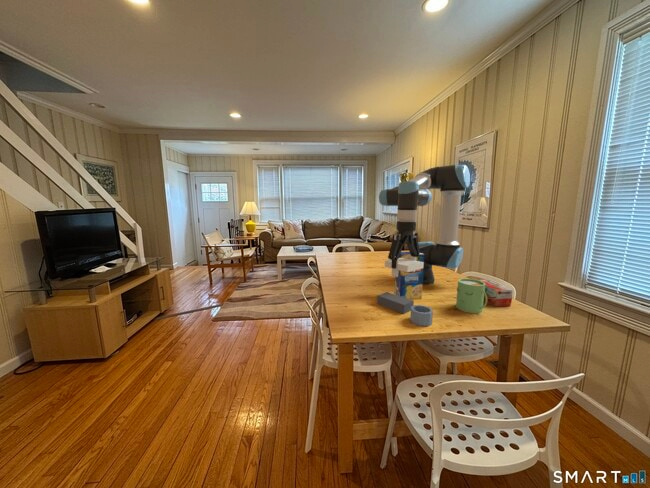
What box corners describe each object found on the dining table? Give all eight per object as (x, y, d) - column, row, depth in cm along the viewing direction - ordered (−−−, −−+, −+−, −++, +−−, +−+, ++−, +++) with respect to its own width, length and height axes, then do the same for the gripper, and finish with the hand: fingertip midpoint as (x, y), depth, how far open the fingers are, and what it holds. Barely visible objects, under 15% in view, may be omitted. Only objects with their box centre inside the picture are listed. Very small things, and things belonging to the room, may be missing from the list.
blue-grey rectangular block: (386, 300, 120) (386, 292, 120) (413, 309, 110) (413, 300, 109) (377, 303, 116) (377, 295, 115) (403, 314, 105) (404, 304, 105)
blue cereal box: (421, 298, 122) (424, 254, 118) (399, 299, 121) (401, 254, 117) (415, 293, 128) (417, 251, 125) (394, 294, 127) (396, 251, 124)
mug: (450, 306, 113) (452, 280, 111) (466, 302, 117) (468, 277, 116) (476, 317, 102) (479, 289, 100) (493, 313, 106) (496, 285, 104)
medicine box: (511, 306, 113) (513, 289, 112) (495, 307, 112) (497, 290, 111) (485, 294, 128) (487, 279, 127) (471, 295, 127) (472, 280, 126)
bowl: (417, 314, 104) (417, 303, 104) (436, 321, 98) (436, 309, 98) (406, 320, 99) (406, 308, 99) (425, 328, 93) (426, 315, 92)
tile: (400, 263, 113) (400, 257, 112) (423, 268, 104) (423, 262, 104) (384, 266, 106) (384, 260, 106) (407, 272, 97) (407, 266, 97)
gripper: (414, 219, 112) (412, 267, 115) (380, 221, 98) (377, 276, 101) (430, 220, 106) (427, 271, 109) (396, 222, 92) (393, 280, 95)
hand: (403, 273), depth 105 cm, fingers closed on tile, 11 cm apart
